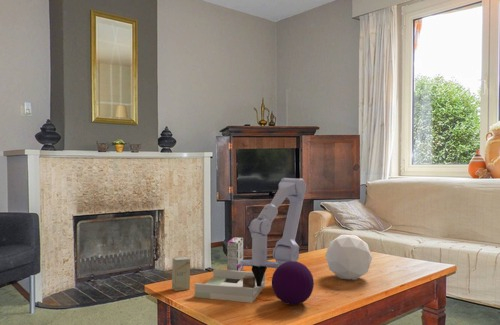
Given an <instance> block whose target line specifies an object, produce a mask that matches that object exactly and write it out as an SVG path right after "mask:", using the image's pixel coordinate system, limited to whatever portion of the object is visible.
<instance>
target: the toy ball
mask: <svg viewBox="0 0 500 325" xmlns="http://www.w3.org/2000/svg"><path fill="white" fill-rule="evenodd" d="M314 283H315V282H314V276H313V274H312V272H311V270H310V269H309V268H308V267H307V266H306V265H305V264H303V263H301V262H299V261H297V262H296V261H289V262H285V263H283V264H281V265H280V266H279V267H278V268H277V269H274V271H273V273H272V276H271V287H272V291H273V293H274V295H275V296H276V298H277V299H278V300H279V301H280V302H282V303H284V304H287V305H291V306H296V305H299V304H302V303H304V302H306V301H307V300H308V299H309V298H310V296H311V295H312V293H313V290H314Z"/></svg>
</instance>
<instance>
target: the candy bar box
mask: <svg viewBox="0 0 500 325" xmlns="http://www.w3.org/2000/svg"><path fill="white" fill-rule="evenodd" d="M226 243H227V244H226V249H227V251H226V254H227V255H226V258H227V259H226V262H227V265H226V266H227V267H226V268H227V269H226V270H234V271H244V266H241V260H244V237H236V236H235V237H232V238H230V240H228V241H227V242H226Z"/></svg>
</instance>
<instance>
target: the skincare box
mask: <svg viewBox="0 0 500 325" xmlns="http://www.w3.org/2000/svg"><path fill="white" fill-rule="evenodd" d="M171 265H172V266H171V267H172V268H171V269H172V270H171V288H172V290H173V291H175V292H178V291H185V290H188V291H189V290H190V288H191V282H190V281H191V258H190V257H188V256H180V257H172V264H171Z"/></svg>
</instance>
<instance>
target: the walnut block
mask: <svg viewBox="0 0 500 325" xmlns="http://www.w3.org/2000/svg"><path fill="white" fill-rule="evenodd" d="M243 287H248V288H254V287H255V276H250V275H245V276H244V277H243Z"/></svg>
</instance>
